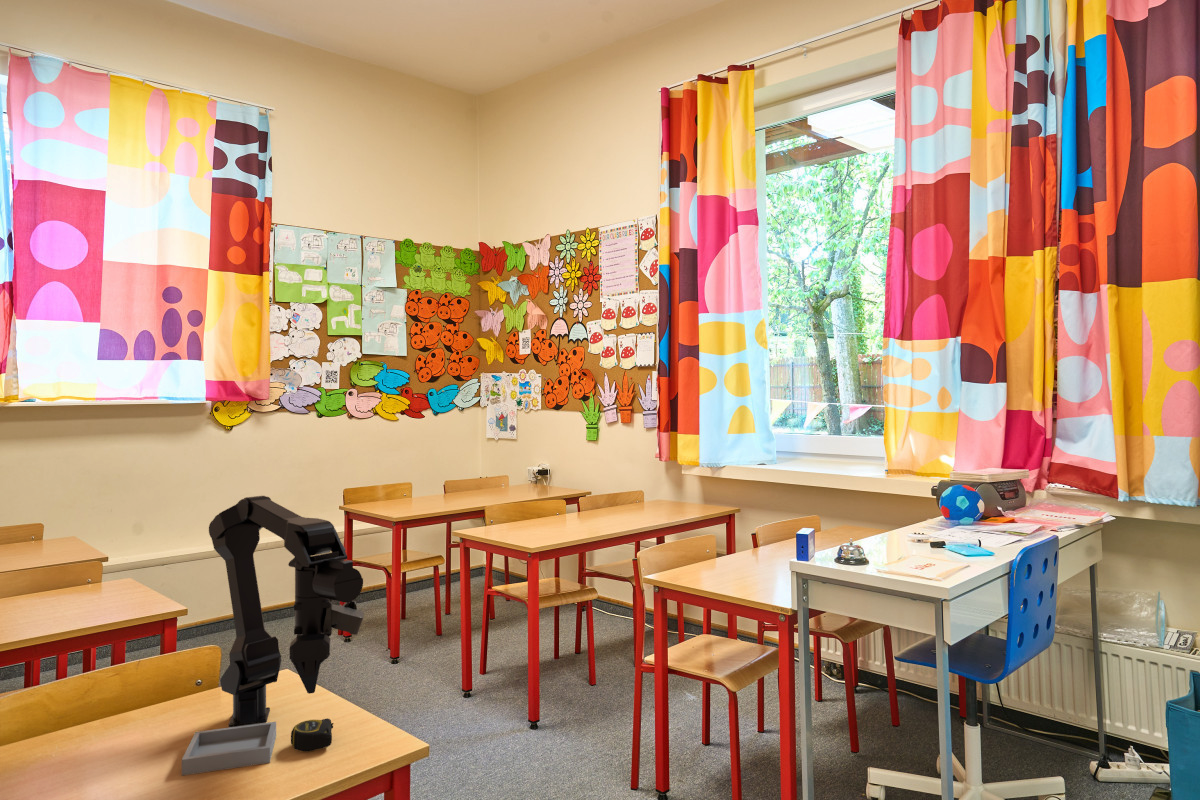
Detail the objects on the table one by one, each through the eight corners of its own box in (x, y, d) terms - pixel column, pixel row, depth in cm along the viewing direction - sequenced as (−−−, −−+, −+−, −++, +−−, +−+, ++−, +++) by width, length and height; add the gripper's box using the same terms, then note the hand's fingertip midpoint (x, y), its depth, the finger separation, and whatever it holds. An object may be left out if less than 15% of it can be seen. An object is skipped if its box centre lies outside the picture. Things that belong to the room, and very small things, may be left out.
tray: (195, 746, 130) (195, 731, 130) (276, 735, 134) (276, 721, 134) (181, 775, 119) (181, 759, 119) (269, 762, 123) (269, 747, 123)
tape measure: (332, 752, 127) (332, 730, 127) (288, 758, 125) (288, 736, 125) (333, 736, 134) (333, 715, 134) (292, 741, 132) (292, 720, 132)
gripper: (361, 603, 124) (361, 697, 124) (360, 579, 142) (360, 661, 141) (289, 609, 120) (289, 706, 120) (297, 583, 138) (297, 668, 138)
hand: (312, 683), depth 130 cm, fingers open, 9 cm apart
